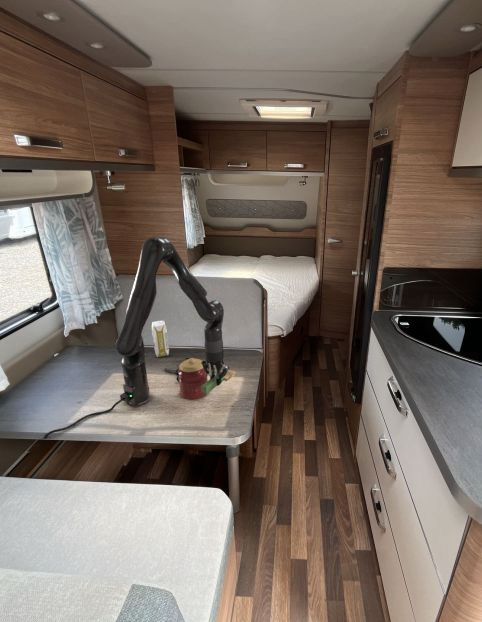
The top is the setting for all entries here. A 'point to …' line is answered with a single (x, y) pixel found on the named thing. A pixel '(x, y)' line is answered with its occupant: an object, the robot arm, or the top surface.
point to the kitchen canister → (191, 378)
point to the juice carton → (160, 338)
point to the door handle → (174, 370)
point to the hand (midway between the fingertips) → (216, 383)
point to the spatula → (213, 382)
